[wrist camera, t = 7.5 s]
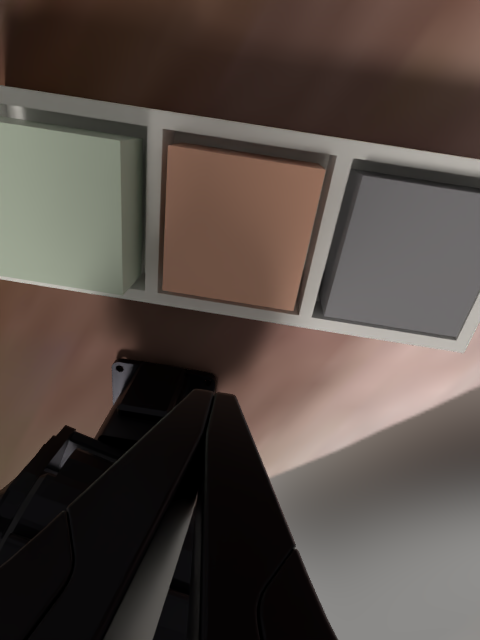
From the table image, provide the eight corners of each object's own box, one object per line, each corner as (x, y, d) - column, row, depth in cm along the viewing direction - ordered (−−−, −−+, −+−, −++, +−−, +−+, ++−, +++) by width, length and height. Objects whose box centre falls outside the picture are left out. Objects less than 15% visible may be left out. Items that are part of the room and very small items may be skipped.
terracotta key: (291, 289, 19) (293, 311, 17) (175, 270, 19) (162, 290, 17) (319, 163, 16) (325, 169, 14) (182, 142, 16) (167, 145, 14)
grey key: (435, 312, 19) (456, 337, 17) (318, 293, 19) (324, 316, 17) (488, 189, 16) (522, 200, 14) (350, 168, 16) (362, 175, 14)
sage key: (141, 274, 18) (122, 295, 16) (20, 255, 18) (-16, 273, 16) (142, 138, 15) (120, 140, 13) (-2, 115, 15) (-49, 114, 13)
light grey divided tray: (439, 323, 20) (463, 353, 18) (28, 258, 21) (-8, 277, 18) (510, 163, 17) (556, 171, 14) (4, 85, 17) (-47, 78, 14)
